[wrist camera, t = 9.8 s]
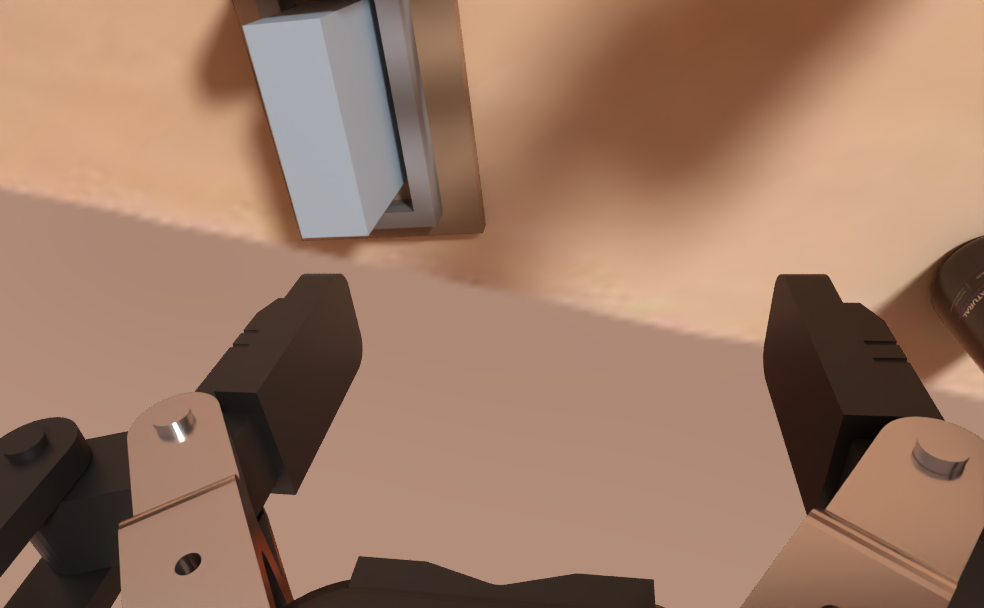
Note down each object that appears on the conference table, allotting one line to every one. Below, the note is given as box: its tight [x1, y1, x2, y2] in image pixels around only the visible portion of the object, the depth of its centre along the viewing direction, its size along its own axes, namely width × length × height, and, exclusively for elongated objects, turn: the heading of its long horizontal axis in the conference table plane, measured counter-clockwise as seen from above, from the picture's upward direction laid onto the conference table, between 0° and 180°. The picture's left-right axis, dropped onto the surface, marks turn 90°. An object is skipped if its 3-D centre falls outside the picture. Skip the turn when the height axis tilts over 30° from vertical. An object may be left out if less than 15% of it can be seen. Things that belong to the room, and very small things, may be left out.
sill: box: [232, 0, 486, 241], centre depth 34 cm, size 18×12×9 cm, turn 6°
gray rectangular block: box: [242, 0, 408, 238], centre depth 33 cm, size 10×4×8 cm, turn 6°
